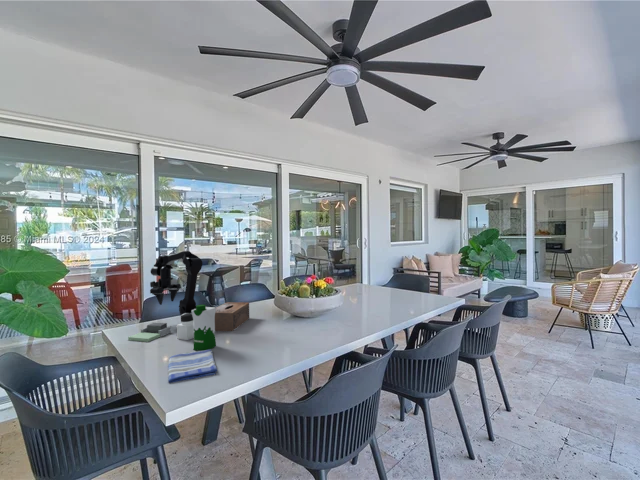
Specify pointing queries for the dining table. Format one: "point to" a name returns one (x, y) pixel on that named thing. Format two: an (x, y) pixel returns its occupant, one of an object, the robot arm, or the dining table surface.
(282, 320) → the dining table surface
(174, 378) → the dish towel
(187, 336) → the medicine bottle
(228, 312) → the tissue box cover
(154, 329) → the gray cuboid pillar
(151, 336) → the deck
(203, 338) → the milk carton
